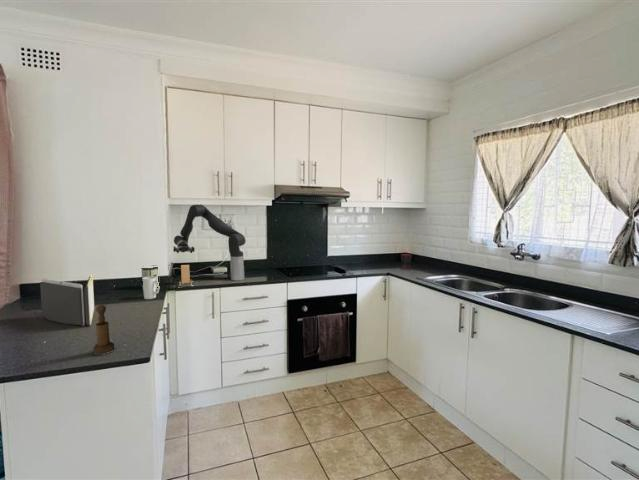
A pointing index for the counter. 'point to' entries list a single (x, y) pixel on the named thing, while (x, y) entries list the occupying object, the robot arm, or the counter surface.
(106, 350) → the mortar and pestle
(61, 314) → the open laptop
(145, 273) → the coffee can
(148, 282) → the mug
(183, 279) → the block
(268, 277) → the counter surface
